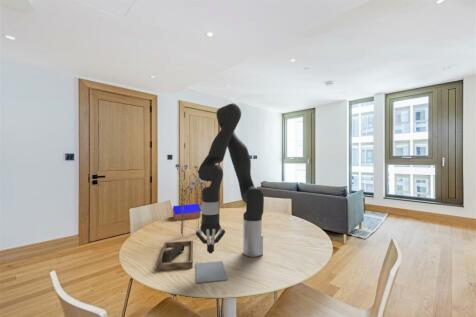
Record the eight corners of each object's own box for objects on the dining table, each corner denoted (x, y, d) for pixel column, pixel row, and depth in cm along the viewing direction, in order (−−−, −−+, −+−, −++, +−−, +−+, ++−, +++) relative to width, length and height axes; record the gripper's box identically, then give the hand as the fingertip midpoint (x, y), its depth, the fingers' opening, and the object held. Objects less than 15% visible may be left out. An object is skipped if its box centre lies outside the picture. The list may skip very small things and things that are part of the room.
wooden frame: (193, 245, 124) (193, 240, 124) (192, 267, 99) (192, 261, 99) (164, 247, 121) (164, 242, 121) (156, 270, 96) (156, 264, 96)
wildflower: (213, 230, 150) (213, 162, 150) (206, 243, 127) (206, 163, 127) (180, 229, 151) (180, 162, 151) (167, 242, 128) (167, 163, 128)
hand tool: (177, 250, 116) (177, 241, 116) (184, 251, 115) (184, 242, 115) (156, 263, 97) (156, 252, 98) (164, 264, 96) (165, 253, 97)
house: (201, 220, 175) (201, 205, 175) (174, 223, 167) (174, 207, 167) (197, 216, 186) (197, 202, 186) (172, 219, 178) (172, 204, 178)
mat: (222, 261, 104) (222, 260, 104) (227, 280, 88) (227, 279, 88) (196, 264, 102) (196, 263, 102) (196, 283, 86) (196, 282, 86)
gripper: (224, 209, 100) (224, 248, 100) (194, 210, 97) (194, 250, 97) (227, 213, 93) (227, 255, 93) (194, 214, 90) (194, 257, 90)
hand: (210, 252), depth 95 cm, fingers closed
